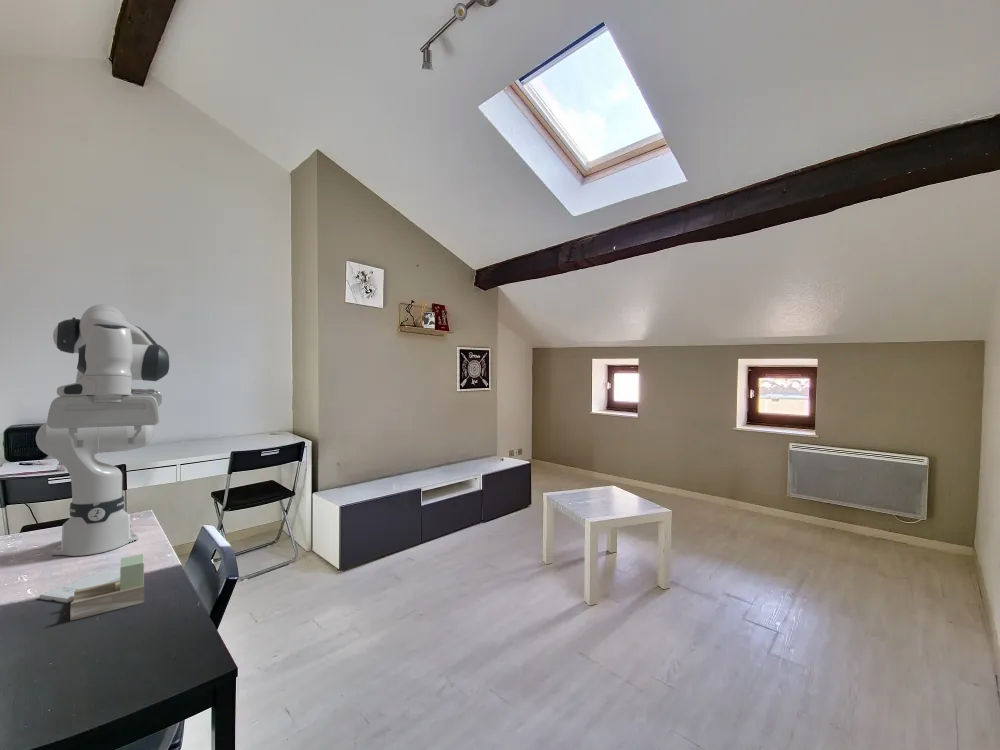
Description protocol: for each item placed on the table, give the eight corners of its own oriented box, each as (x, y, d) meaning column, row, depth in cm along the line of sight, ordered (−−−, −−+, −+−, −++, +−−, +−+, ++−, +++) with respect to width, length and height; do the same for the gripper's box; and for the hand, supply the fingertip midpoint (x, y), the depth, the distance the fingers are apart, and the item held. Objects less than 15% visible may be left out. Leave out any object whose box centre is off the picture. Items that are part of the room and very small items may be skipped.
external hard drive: (124, 580, 111) (66, 605, 99) (98, 577, 113) (39, 601, 101) (124, 574, 112) (67, 597, 99) (98, 570, 113) (39, 594, 101)
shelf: (75, 598, 101) (75, 583, 101) (143, 583, 109) (143, 568, 109) (70, 621, 92) (70, 603, 92) (144, 602, 100) (144, 586, 100)
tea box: (120, 594, 99) (120, 567, 99) (120, 583, 104) (120, 558, 104) (143, 588, 102) (144, 562, 102) (143, 578, 107) (143, 553, 107)
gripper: (161, 390, 116) (159, 442, 115) (51, 389, 104) (48, 449, 102) (162, 388, 112) (160, 443, 110) (47, 387, 99) (44, 449, 97)
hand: (105, 446), depth 106 cm, fingers open, 8 cm apart
